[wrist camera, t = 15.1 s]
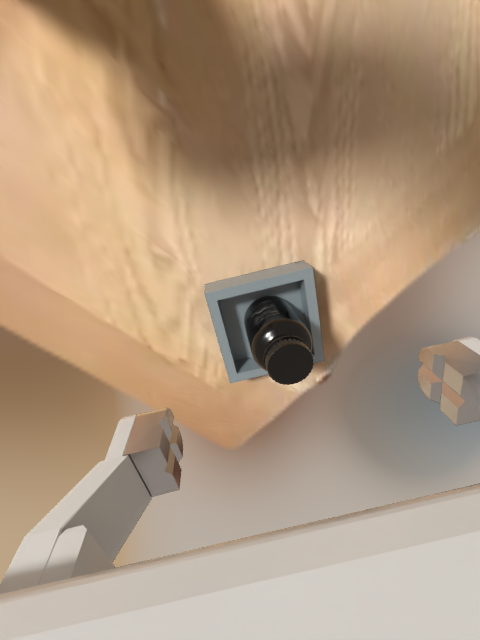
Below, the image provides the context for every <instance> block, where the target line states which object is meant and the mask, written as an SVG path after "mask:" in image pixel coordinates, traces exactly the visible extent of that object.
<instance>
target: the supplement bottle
mask: <svg viewBox="0 0 480 640" xmlns="http://www.w3.org/2000/svg"><path fill="white" fill-rule="evenodd" d="M244 326H245V330H246V334H247V337H248V341H249V345H250V348H251V352H252V355H253V358H254V360H255V362H256V363H257V364H258V365H259V366H260V367H261V368H262V369H264V370H265V371H267V372H268V374H269V376H270V377H271V378H272V379H273V380H275V381H276V382H278V383H280V384H284V385H285V384H287V385H289V384H294V383H298V382H300V381H302V380H303V379H305V378H306V377H307V376H308V375H309V373H310V372H311V370H312V368H313V365H314V364H313V361H314V359H313V355H312V353H311V350H312V338H311V335H310V333H309V331H308V329H307V328H306V326H305V325H304V323H303V322H302V321H301V319H300V318H299V316H298V315H297V314H296V312H295V311H294V309H293V308H292V307H291V305H290V304H289V303H288V302H287V301H286V300H284V299H283V298H281V297H278V296H263V297H260V298H258V299H257V300H255V301H254V302H252V303H251V304H250V306H249V307H248V308H247V310H246V313H245V316H244Z"/></svg>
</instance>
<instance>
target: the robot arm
mask: <svg viewBox="0 0 480 640" xmlns="http://www.w3.org/2000/svg"><path fill="white" fill-rule="evenodd" d="M419 360H420V361H421V363H422V364H423V365H422V366H421V368H420V369H419V370H418V382H419V385H420V387H421V389H422V391H423V392H424V394H425V395H426V396H427V397H428V398H429V399H430V400H432V401H435V402H438V403H440V410H441V411H442V412H443V413H444V414H445V415H446V416H447V417H448V418H449V419H450V420H451V421H452V422H453V423H454V424H455V425H461V424H466V423H471V422H476V421H480V340H478V339H477V338H474V337H465V338H461V339H457V340H454V341H452V342H447V343H443V344H439V345H435V346H431V347H426V348H422V349H421V351H420V353H419ZM173 421H174V416H173V413H172V411H171V409H169V408H164V409H160V410H155V411H150V412H145V413H141V414H138V415H132V416H127V417H123V418H122V419H121V420H120V421H119V423H118V426H117V429H116V431H115V434H114V437H113V439H112V442H111V445H110V447H109V450H108V453H107V456H106V458H105V460H104V461H101V462H99V463H98V464H97V465H96V466H95V467H94V468H93V469H92V470H91V471H90V472H89V473H88V474H87V475H86V476H85V477H84V478H83V479H82V480H81V481H80V482H79V483H78V484H77V485H76V486H75V487H74V488H73V489H72V490H71V491H70V492H69V493H68V494H67V495H66V496H65V497H64V498H63V499H62V500H61V501H60V502H59V503H58V504H57V505H56V506H55V507H54V508H53V509H52V510H51V511H50V512H49V513H48V514H47V515H46V516H45V517H44V518H43V519H42V520H41V521H40V522H39V523H38V524H37V525H36V526H35V527H34V528H33V529H32V530H31V531H30V532H29V533H28V534H27V535H26V536H25V537H24V539H23V541H22V543H21V545H20V547H19V549H18V550H17V553H16V554H15V556H14V558H13V560H12V562H11V564H10V566H9V568H8V570H7V572H6V574H5V576H4V578H3V580H2V582H1V584H0V640H480V484H475V485H471V486H466V487H462V488H458V489H454V490H449V491H445V492H441V493H436V494H432V495H428V496H424V497H419V498H415V499H411V500H407V501H402V502H397V503H393V504H389V505H385V506H380V507H376V508H371V509H367V510H363V511H359V512H354V513H350V514H345V515H341V516H337V517H332V518H328V519H324V520H319V521H315V522H311V523H307V524H302V525H298V526H293V527H289V528H285V529H281V530H276V531H272V532H267V533H263V534H259V535H254V536H251V537H246V538H241V539H237V540H233V541H228V542H224V543H220V544H216V545H211V546H207V547H202V548H198V549H194V550H189V551H185V552H181V553H176V554H172V555H168V556H164V557H159V558H155V559H151V560H146V561H142V562H138V563H133V564H129V565H125V566H120V567H115V566H114V564H113V561H114V559H115V558H116V556H117V555H118V553H119V551H120V550H121V548H122V546H123V545H124V543H125V542H126V540H127V538H128V537H129V535H130V533H131V532H132V530H133V529H134V527H135V525H136V524H137V522H138V520H139V519H140V517H141V516H142V514H143V512H144V510H145V509H146V507H147V506H148V504H149V503H150V501H151V497H154V496H158V495H162V494H165V493H169V492H173V491H177V490H179V489H180V479H181V468H180V465H179V461H180V460H181V459H182V457H183V442H182V436H181V433H180V430H179V428H178V427H177V426H176V425H174V424H173Z"/></svg>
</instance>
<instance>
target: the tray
mask: <svg viewBox="0 0 480 640" xmlns="http://www.w3.org/2000/svg"><path fill="white" fill-rule="evenodd" d="M204 294H205V297H206V301H207V304H208V308H209V311H210V315H211V318H212V322H213V325H214V329H215V332H216V336H217V339H218V343H219V346H220V349H221V353H222V356H223V360H224V363H225V367H226V370H227V374H228V377H229V381H230V383H234V382H238V381H242V380H246V379H250V378H255V377H259V376H263V375H267V374H268V372H267V371H265V370H264V369H262V368H261V367H260V366H259V365H258V364H257V363H256V362H255V360H254V358H253V355H252V352H251V348H250V345H249V341H248V337H247V334H246V330H245V326H244V316H245V313H246V310H247V308H248V307H249V306H250V304H251V303H252V302H254V301H255V300H257V299H258V298H260V297H263V296H278V297H281V298H283V299H284V300H286V301H287V302H288V303H289V304H290V305H291V307H292V308H293V309H294V311H295V312H296V314H297V315H298V316H299V318H300V319H301V321H302V322H303V323H304V325H305V326H306V328H307V329H308V331H309V333H310V335H311V338H312V350H311V353H312V355H313V359H314V361H313V363H317V362H321V361H325V359H324V352H323V344H322V336H321V328H320V320H319V313H318V305H317V297H316V289H315V281H314V274H313V267H312V266H310V265H309V264H307V263H306V262H305V261H303V260H302V261H298V262H294V263H290V264H286V265H282V266H278V267H274V268H269V269H265V270H261V271H257V272H253V273H249V274H245V275H241V276H237V277H232V278H228V279H224V280H220V281H216V282H212V283H208V284H205V293H204Z"/></svg>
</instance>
